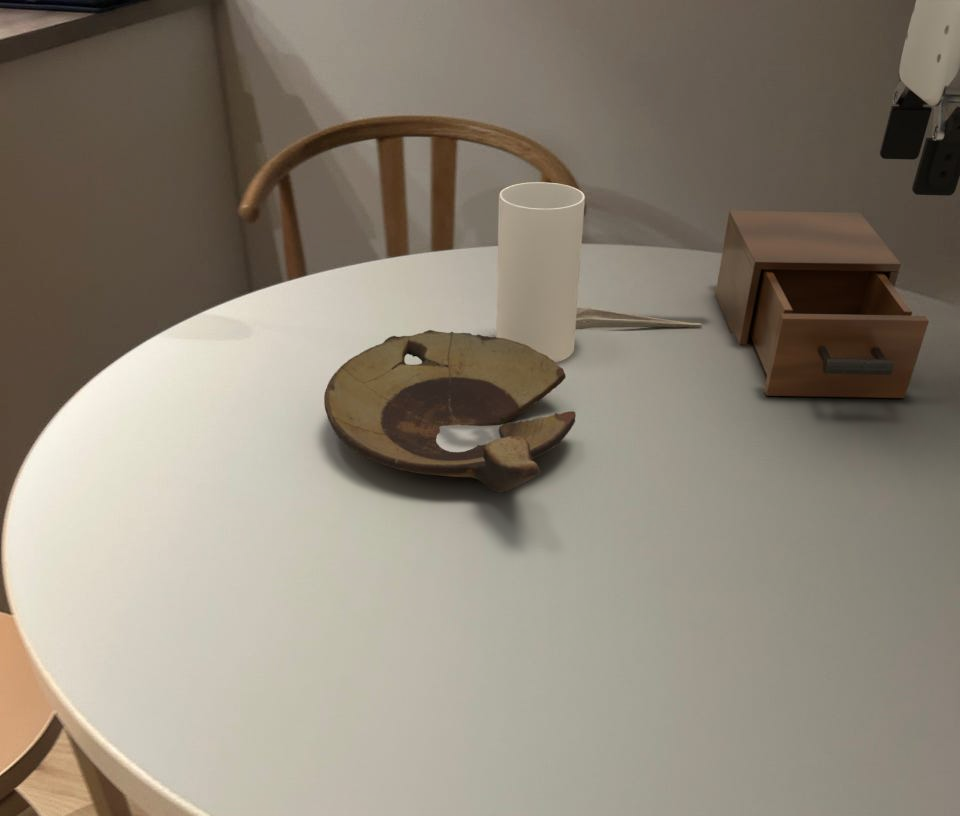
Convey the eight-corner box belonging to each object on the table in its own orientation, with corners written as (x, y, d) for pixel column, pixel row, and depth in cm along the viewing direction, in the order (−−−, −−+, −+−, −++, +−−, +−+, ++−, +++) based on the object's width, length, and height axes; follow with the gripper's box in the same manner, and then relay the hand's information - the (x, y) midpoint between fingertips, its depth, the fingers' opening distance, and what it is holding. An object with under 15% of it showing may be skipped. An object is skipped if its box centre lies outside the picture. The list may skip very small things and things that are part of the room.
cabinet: (875, 354, 105) (901, 264, 99) (737, 352, 106) (754, 261, 99) (839, 296, 117) (860, 212, 111) (715, 294, 117) (729, 210, 111)
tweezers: (546, 335, 108) (548, 317, 107) (543, 318, 112) (545, 301, 111) (703, 346, 109) (707, 328, 108) (695, 328, 113) (699, 311, 112)
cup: (484, 362, 103) (486, 202, 93) (512, 331, 109) (516, 177, 99) (558, 376, 101) (569, 214, 91) (583, 344, 107) (595, 188, 96)
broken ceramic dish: (563, 378, 101) (568, 305, 96) (586, 553, 78) (594, 468, 73) (343, 376, 101) (337, 303, 96) (302, 550, 78) (291, 465, 73)
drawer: (918, 419, 93) (944, 340, 88) (774, 417, 93) (792, 337, 88) (864, 334, 107) (884, 262, 102) (740, 332, 107) (754, 260, 102)
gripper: (1090, -65, 64) (996, 211, 75) (997, -91, 77) (929, 147, 88) (973, -67, 64) (897, 208, 75) (899, -93, 77) (844, 145, 88)
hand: (914, 175), depth 82 cm, fingers open, 9 cm apart
